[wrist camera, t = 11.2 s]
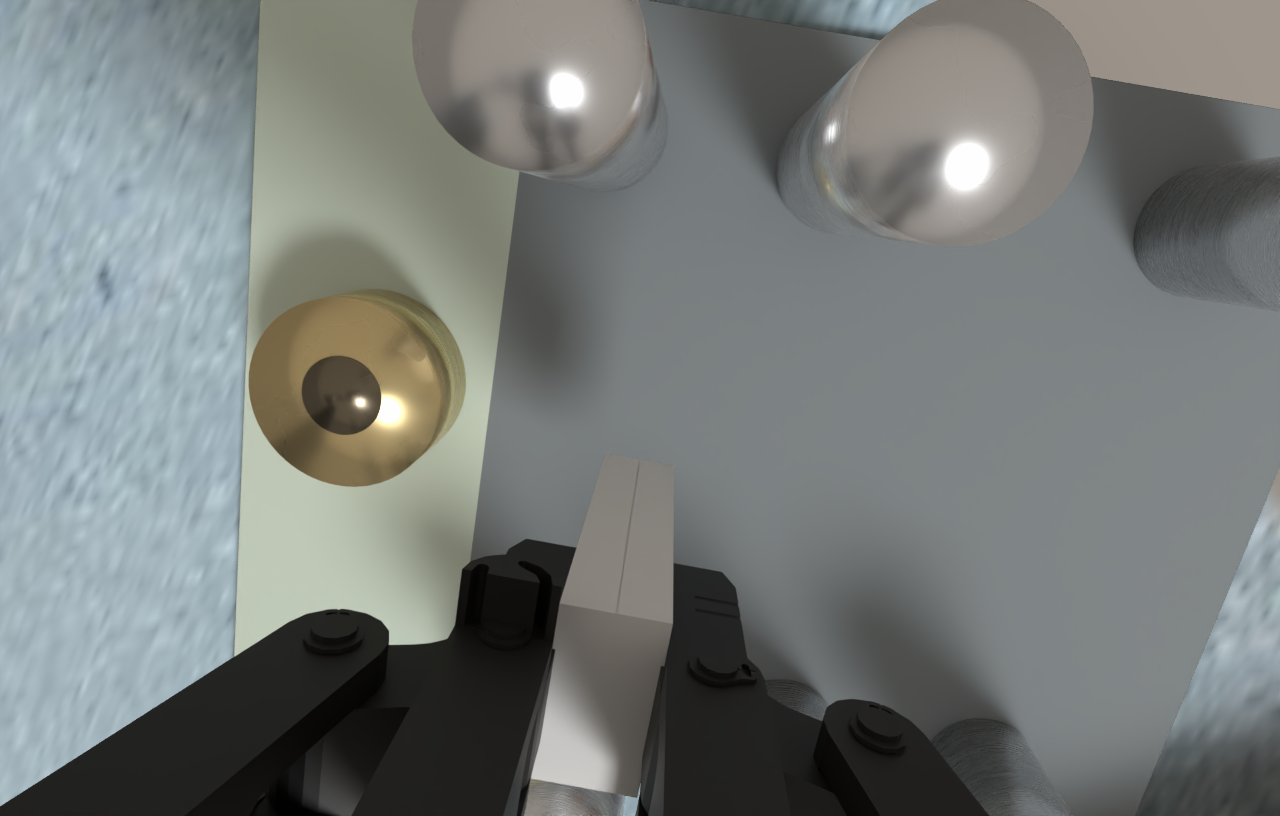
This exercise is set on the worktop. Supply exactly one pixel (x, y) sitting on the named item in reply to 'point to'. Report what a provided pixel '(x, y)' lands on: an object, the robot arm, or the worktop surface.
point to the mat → (781, 388)
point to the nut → (356, 385)
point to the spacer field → (854, 193)
